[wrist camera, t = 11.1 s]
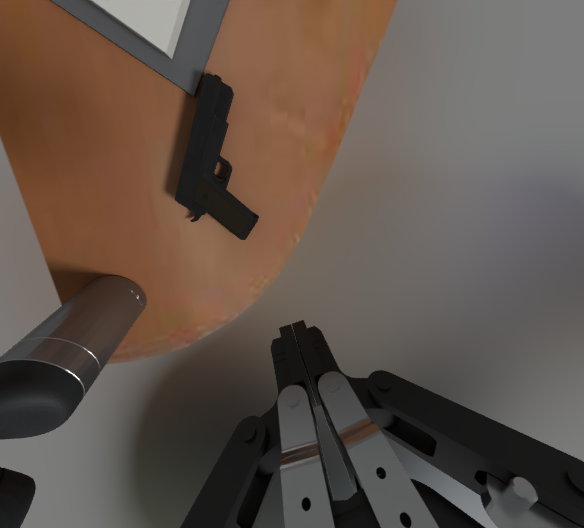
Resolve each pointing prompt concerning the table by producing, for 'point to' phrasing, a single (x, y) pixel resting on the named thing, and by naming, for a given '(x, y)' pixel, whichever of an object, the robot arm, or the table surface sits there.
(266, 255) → the table surface
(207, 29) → the mat
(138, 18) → the tile
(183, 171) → the handgun
